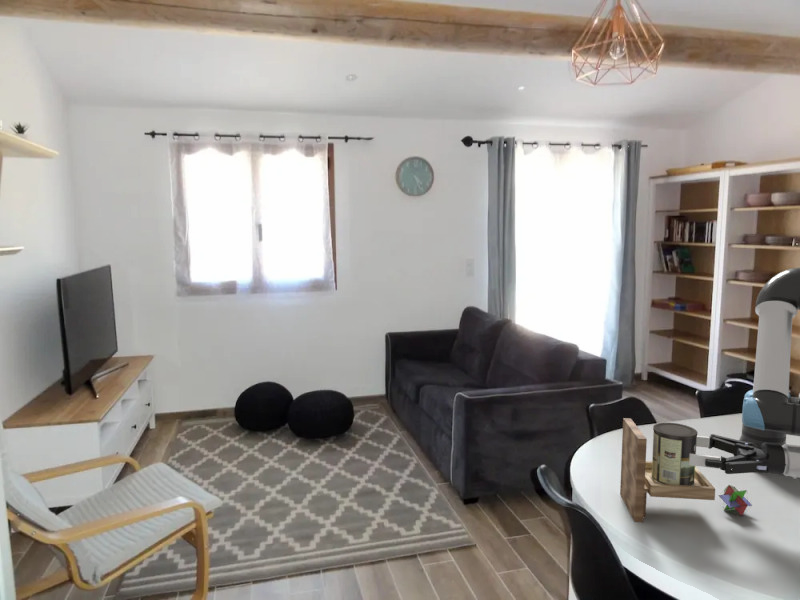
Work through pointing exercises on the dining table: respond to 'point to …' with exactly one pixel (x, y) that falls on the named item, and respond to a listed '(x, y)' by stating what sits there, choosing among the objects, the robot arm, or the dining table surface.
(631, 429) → the bracket
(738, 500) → the geometric puzzle
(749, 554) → the dining table surface
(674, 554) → the dining table surface
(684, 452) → the coffee can
